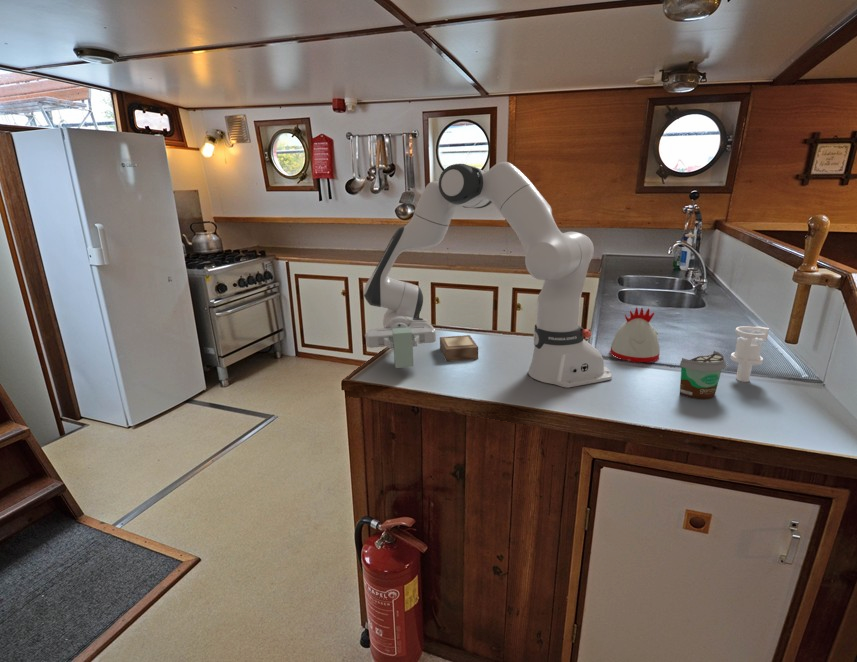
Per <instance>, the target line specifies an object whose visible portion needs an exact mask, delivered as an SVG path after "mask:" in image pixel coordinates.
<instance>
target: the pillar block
mask: <svg viewBox="0 0 857 662" xmlns="http://www.w3.org/2000/svg"><path fill="white" fill-rule="evenodd" d="M392 331H393V341H394V348H393V360H394V365H395V369H399V368H412V367H413V368H414V366H415V364H414V348H413V344H412V331H411V329H410V327H406V328H393V329H392Z"/></svg>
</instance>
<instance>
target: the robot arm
mask: <svg viewBox="0 0 857 662" xmlns="http://www.w3.org/2000/svg"><path fill="white" fill-rule="evenodd" d="M491 204H493V205H494V206H495V207H496V209H497V210H498V212H499V213H500V214H501V215H502V217H503V218H504V219H505V220H506V222H507V223H508V224H509V227H511V228H512V230H513V231H514V232H515V234H516V236H517V238H518V239H519V242H520V244H521V247H522V249H523V251H524V254H525V256H524V257H525V258H524V262H525V264H524V265H525V268H526V270H527V271H528V273H529V274H530V275H531V276H532V277H533V278H534V279H537V280H540V281H543V284H542V288H541V290H540V292H539V294H538V296H537V299H536V300H537V301H536V305H537V306H536V324H535V325H534V329H533V330H534V331H533V345H534V347H533V354H532V359H531V362H530V365H529V369H528V371H527V373H528V375H529V376H530V377H531V378H532V379H534V380H536V381H539V382H542V383H545V384H553V385H557V386H559V387H562V388H572V387H578V386H583V385H584V386H585V385H589V384H594V383H595V384H596V383H601V382H605V381H611V380H612V378H613V375H612V372H611V370H610V369H609V368H608V367H607V366H606V365H605V364H604V357H603V355H602V353H601V352H600V350H598V349H597V348H596V347H594V346H593V345H592V344H590V343H589V342H588V341H587V340H586V339H590V338H591V336H592V331H590V330H589V329H587V328H585V329H584V328H583V327H582V326H580V325H579V320H580V319H579V318H580V309H581V308H580V305H581V299H582V294H583V290H584V285H585V282H586V278H587V274H588V269H589V266H590V263H591V261H592V259H593V257H594V255H595V254H594V253H595V247H594V243H593V241H592V240H591V239H590V237H589V236H588V235H586V234H584V233H581V232H577V231H566V232H562V231H561V230H560V228H559V227H558V225H557V223H556V221H555V218H554V216H553V209H552V207H551V205H550V204H549V202H548V201H547V200H546V199H545V197H544V196H543V194H541V193H540V191H539V190H538V189H537V187H536V186H535V185H534V184H533V182H532V181H531V180H530V179H529V177H527V176H526V174H524V173H523V172H522V171H521V170H520V169H519V168H518V167H517V166H515V165H514V164H512V163H511V162H509V161H501V162H497V163H496V164H494V165H493V166H492V167H491V168H490V169H488V170H482V169H480V168H478V167H477V166H473V165H469V164H465V163H454V164H451V165H448V166H447V167H445V168H444V169H443V170H442V172H441V174H440V176H439V179H438V180H433V181H431V182H429V183H427V184H426V186H425V188H424V189H423V192H422V193H421V195H420V197H419V200H418V202H417V205H416V206H415V208H414V209H415V211H414V213H413V216H412V218H411V219H410V220H409V222H408V223H407V224H406V225H405V226H401V227H399V228H397V230H396V231H395V232H394V234H393V235H392V237H391V238H390V240H389V243H388V244H387V246H386V248H385V250H384V251H383V253H382V256H381V257H380V259H379V261H378V264H377V265H376V267H375V269H374V271H373V272H372V274H371V275H370V276H369V278H368V280H367V281H366V283H365V286H364V290H363V297H364V299H365V300H366V302H367V303H368V304H369V306H373V307H376V308H383V309H386V311H385V313H384V315H383V319H382V326H383V327H381V328H372V329H368V330H367V332H366V333H364V338H365V341H366V347H367V348H369V349H371V348H372V349H373V348H374V349H375V348H384V347H385V348H386V347H387V348H388V349H394V341H393V331H392V329H393V328H406V327H410V329H411V331H412V344H413V347H417V346H418V345H419V344H429V343H435V342H436V338H437V337H436V336H437V335H436V333H437V332H436V329H435V327H434V326H433V325H432V324H431V323H429V322H428V320H427V318H424V317H423V318H421V317H419V316H420V313H421V312H422V308H423V303H424V295H423V294H424V293H423V292H422V290H421V287H420V286H419V285H416V284H414V283H410V282H408V281H402V280H399V279H395V278H392V277H390V276H388V275H389V274H390V271H391V270H392V268H393V265H394V264H395V263H396V260H397V259H398V257H399V255H401V253H403V252H406V251H411V250H425V249H431V248H434V247H436V246H438V245H439V244H440V243H441V242H442V241H443V240H444V239H445V236H446V234H447V232H448V229H449V226H450V225H451V221H452V218H453V215H454V214H455V212H456V211H457V210H458V209H459V208H461V207H462V208H467V209H482V208H486V207H488V206H490V205H491ZM584 338H586V339H584Z"/></svg>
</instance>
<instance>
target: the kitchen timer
mask: <svg viewBox="0 0 857 662" xmlns="http://www.w3.org/2000/svg"><path fill="white" fill-rule="evenodd" d="M643 309H644V308H643V307H641V309H640V311H639V310H638V307H636V308H635V311H634V313H633V312H632V310H629V315H630V317H628V316H627V315H626V314H624V318H625V320H626V321H625V322H623V323H622V324H621V326H620V327H619V328H618V330H617V331H616V333H615V335H614V338H613V340H612V342H611V345H610V352H611V353H610V354H613V355H614V356H616V357H618V358H621V359H624V360H628V361H627V362H629V361H632V362H631V363H637V362H647V363H652V362H651V361H653V362H656V361H658V360H659V359H660V353H661V352H660V351H661V350H660V349H661V348H660V347H661V346H660V344H659V343H660V342H659V339H658V334H659V333H658V332H657V331H656V330H655V329H654V327H653V325H652V324H651V323H650V322H651V320H652V319H653V317H654V315H655V312H652V313H651V314H650V308H647V309H646V312H645V313H644V310H643ZM613 355H612V356H613ZM614 356H613V357H614ZM616 357H615V358H616ZM618 358H617V359H618ZM621 359H620V360H621ZM624 360H623V361H624Z"/></svg>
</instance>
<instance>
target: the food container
mask: <svg viewBox="0 0 857 662" xmlns="http://www.w3.org/2000/svg"><path fill="white" fill-rule="evenodd" d="M726 366H727V363H726V359H725V356H724V355H723V354H722V353H720V352H719V351H716V350H713V354H709V355H699V356H697V357H694V358H691V359H687V358H684V357H682V358H681V361H680V363H679V367H681V369H680V370H681V371H680V384H679V385H680V386H679V395H680V396H683V397H686V398H689V399H695V400H710V399H713V398H715V396H716V392H717V387H718V386H719V381H720V378H721V373H722V371H723V370H724V369H725V368H727V367H726Z"/></svg>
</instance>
